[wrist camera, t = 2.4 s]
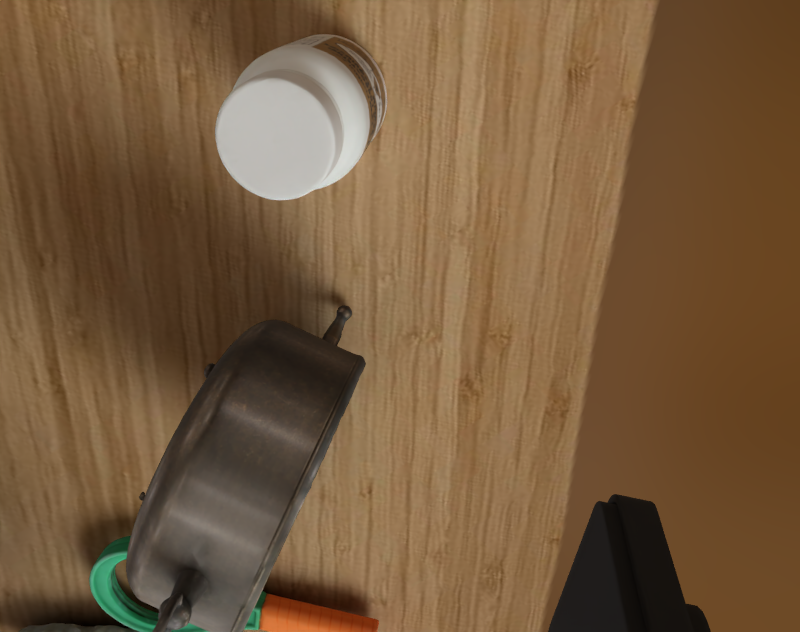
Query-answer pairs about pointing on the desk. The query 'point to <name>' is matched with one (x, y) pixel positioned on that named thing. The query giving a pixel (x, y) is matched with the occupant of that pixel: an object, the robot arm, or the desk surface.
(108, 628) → the stone
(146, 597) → the alarm clock
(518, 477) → the desk surface
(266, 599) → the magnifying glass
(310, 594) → the desk surface
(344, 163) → the pill bottle
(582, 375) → the desk surface
